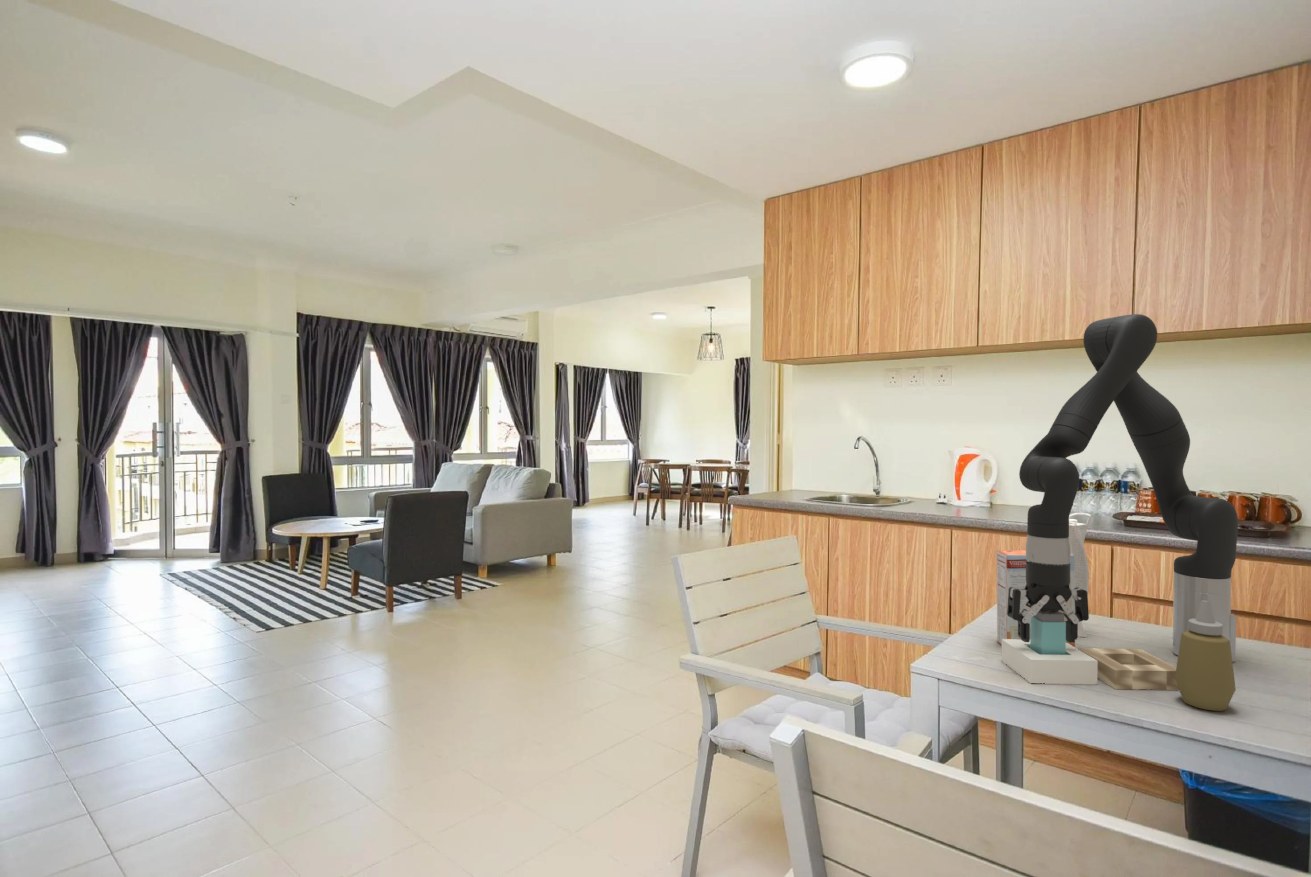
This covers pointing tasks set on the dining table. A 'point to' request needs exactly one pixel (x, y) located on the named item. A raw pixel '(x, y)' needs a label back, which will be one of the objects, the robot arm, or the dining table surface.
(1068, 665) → the port block
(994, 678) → the dining table surface
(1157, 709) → the dining table surface
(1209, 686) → the squeeze bottle
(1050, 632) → the plug
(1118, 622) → the dining table surface
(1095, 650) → the wooden square frame
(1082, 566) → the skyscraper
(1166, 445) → the robot arm
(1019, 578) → the cracker box
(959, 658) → the dining table surface
